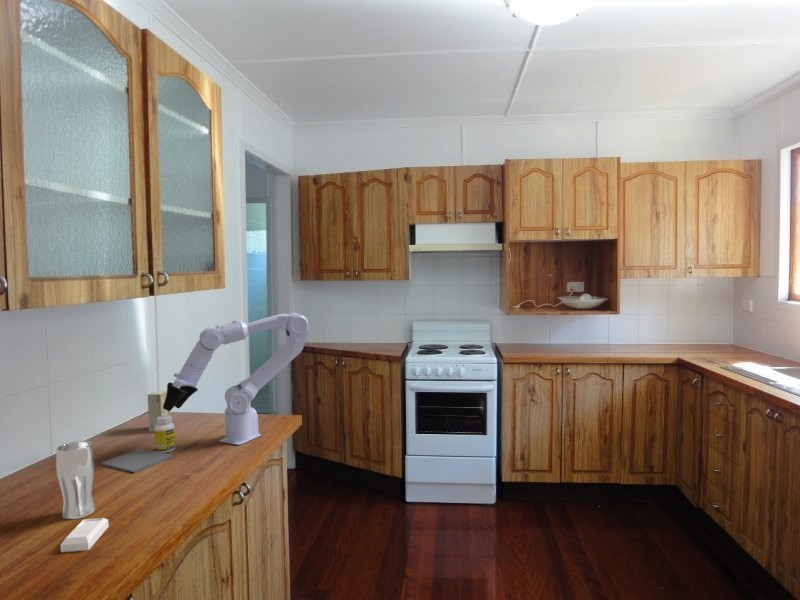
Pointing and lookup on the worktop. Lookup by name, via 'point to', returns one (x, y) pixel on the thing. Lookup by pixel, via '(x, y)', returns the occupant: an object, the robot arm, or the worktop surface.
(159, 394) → the skincare box
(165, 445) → the supplement bottle
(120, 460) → the mat
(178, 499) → the worktop surface
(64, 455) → the beer glass
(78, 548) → the soap bar
